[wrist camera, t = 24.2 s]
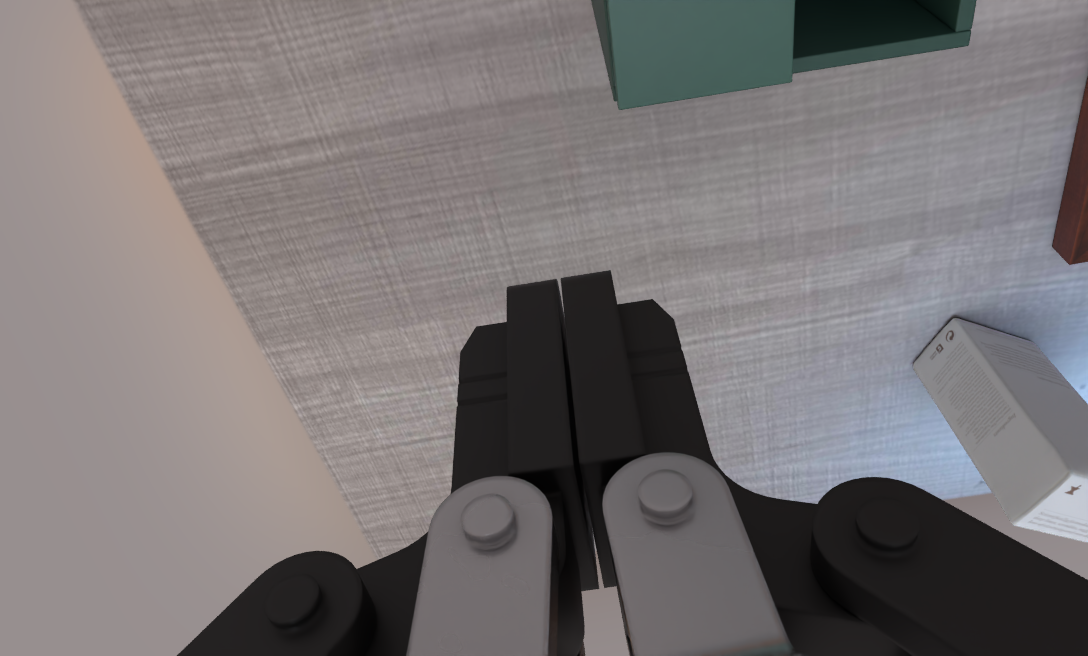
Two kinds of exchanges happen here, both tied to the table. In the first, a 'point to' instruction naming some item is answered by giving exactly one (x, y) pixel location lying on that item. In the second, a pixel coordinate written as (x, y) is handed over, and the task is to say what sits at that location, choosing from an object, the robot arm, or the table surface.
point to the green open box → (854, 30)
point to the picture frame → (1075, 198)
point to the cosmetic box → (1014, 423)
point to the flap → (698, 47)
